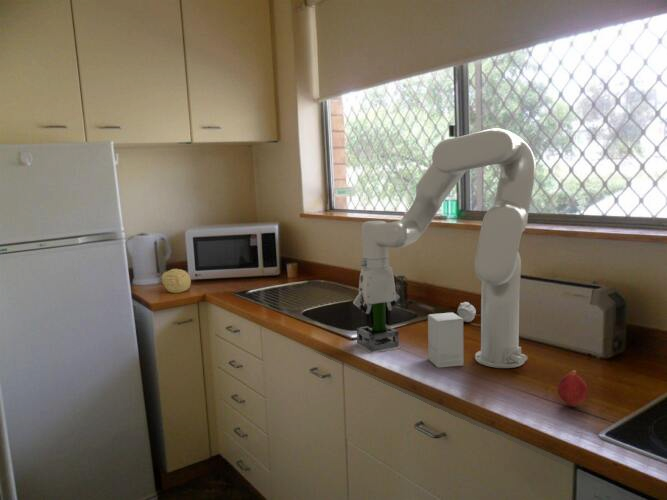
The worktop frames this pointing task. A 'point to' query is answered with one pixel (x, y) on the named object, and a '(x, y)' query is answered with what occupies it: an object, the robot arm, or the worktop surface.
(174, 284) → the pale yellow bumpy ball
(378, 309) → the beer can
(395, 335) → the collar stand
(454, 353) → the supplement box
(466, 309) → the crumpled paper ball
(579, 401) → the onion
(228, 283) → the worktop surface
